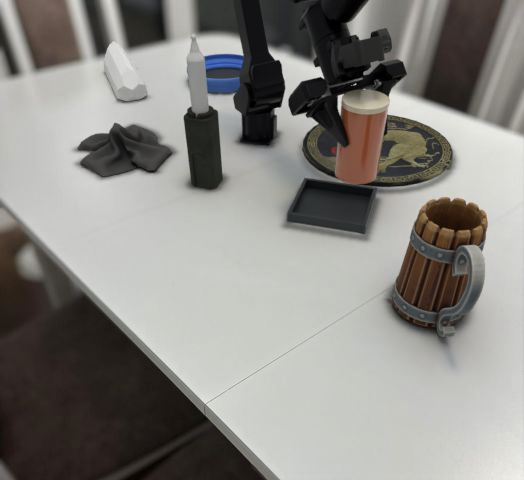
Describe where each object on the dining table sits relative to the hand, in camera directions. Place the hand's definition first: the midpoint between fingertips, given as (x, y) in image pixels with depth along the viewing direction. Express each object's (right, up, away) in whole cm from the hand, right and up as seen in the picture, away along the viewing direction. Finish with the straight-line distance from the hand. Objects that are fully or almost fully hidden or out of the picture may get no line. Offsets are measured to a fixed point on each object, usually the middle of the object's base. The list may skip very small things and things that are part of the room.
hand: (365, 141), depth 82 cm
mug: (+8, -28, -7) cm, 30 cm away
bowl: (-26, +36, +53) cm, 69 cm away
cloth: (-45, +9, +27) cm, 53 cm away
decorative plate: (+7, +7, +25) cm, 27 cm away
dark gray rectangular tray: (-4, -8, +11) cm, 14 cm away
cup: (-1, -3, +5) cm, 6 cm away
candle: (-27, -1, +18) cm, 32 cm away
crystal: (-51, +34, +51) cm, 80 cm away
